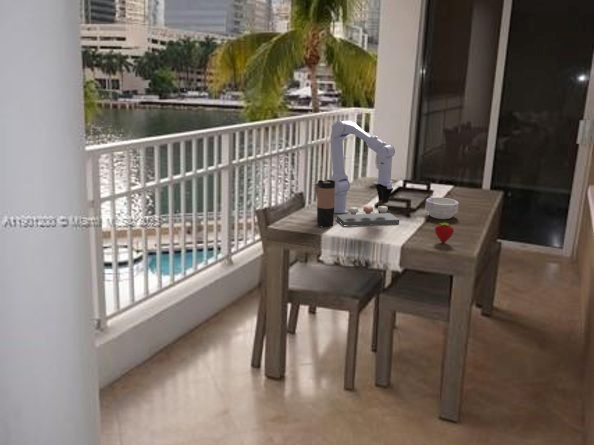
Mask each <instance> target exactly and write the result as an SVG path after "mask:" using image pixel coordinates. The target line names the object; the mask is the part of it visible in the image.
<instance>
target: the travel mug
mask: <svg viewBox="0 0 594 445" xmlns="http://www.w3.org/2000/svg"><path fill="white" fill-rule="evenodd" d="M316 201H317V203H316V204H317V205H316V210H317V211H316V220H317V221H316V224H317V226H318V225H319V226H322V227H321V228H331V227H330V226H332V227H333V226H334V221H335V220H334V219H335V213H334V205H335V181H333V180H330V179H326V180H323V179H322V180H320V179H319V180H318V181H317V200H316ZM319 226H318V227H319Z"/></svg>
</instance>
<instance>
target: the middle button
mask: <svg viewBox="0 0 594 445" xmlns="http://www.w3.org/2000/svg"><path fill="white" fill-rule="evenodd" d="M362 211H363V212H365V213H364V214H372V213H373V212H374V207H373V206H368V205H367V206H363V210H362Z"/></svg>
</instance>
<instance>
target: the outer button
mask: <svg viewBox="0 0 594 445" xmlns="http://www.w3.org/2000/svg"><path fill="white" fill-rule="evenodd" d="M377 211H378V212H379V213H387V212H388V206H386V205H380V206H377Z"/></svg>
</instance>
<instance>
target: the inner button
mask: <svg viewBox="0 0 594 445" xmlns="http://www.w3.org/2000/svg"><path fill="white" fill-rule="evenodd" d="M348 212H349V213H350V215H355V214H358V213H359V207H356V206H349V207H348Z"/></svg>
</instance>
